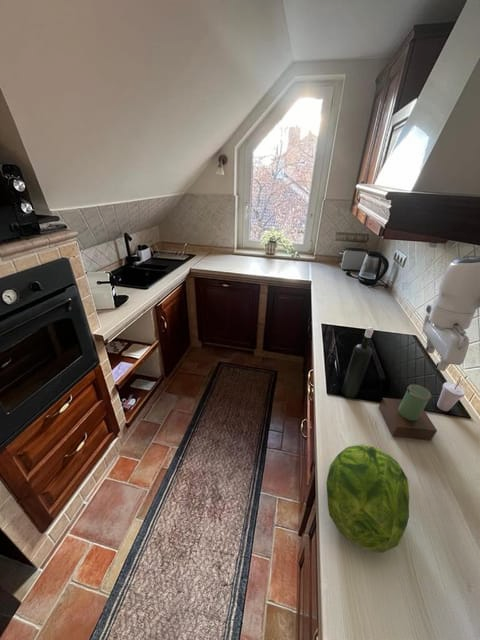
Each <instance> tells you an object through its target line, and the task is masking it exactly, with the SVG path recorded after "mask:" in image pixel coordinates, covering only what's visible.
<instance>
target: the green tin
mask: <svg viewBox="0 0 480 640" xmlns="http://www.w3.org/2000/svg"><path fill="white" fill-rule="evenodd" d="M431 398H432V394H431V392H430V391H429V390H428V389H427V388H426V387H423V386H422V385H419V384H410V385H408V386H407V389H406V391H405V393H404V395H403V398H402V402H401V404H400V406H399V408H398V411H399V413H400V414H401V415H402V416H403V417H404V418H406V419H408V420H413V421H415V420H417V419H418V418H419V416H420V415H421V413H422V411H423V410H425V408H426V406H427V404H428V402H429V401H430V399H431Z"/></svg>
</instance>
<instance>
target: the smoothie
mask: <svg viewBox="0 0 480 640" xmlns="http://www.w3.org/2000/svg"><path fill="white" fill-rule="evenodd" d="M461 382H462V379H460V378H459V379H458V381H457V382H456V383H454V382H452V381H445V382H443V384H442V386H441V388H442V389H441V392H440V395H439V397H438V399H437V403H436V407H437V408H438V409H439V410H440V411H443V412H449V411H450V410H451V409H452V408H453V407H454V406H455V405H456V404H457V402H458V401H459V400H461V398H463V397H464V396H465V395H466V393H467V392H466V390H465V388H464V387H462V386H461V385H460V384H461Z"/></svg>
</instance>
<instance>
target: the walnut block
mask: <svg viewBox="0 0 480 640" xmlns="http://www.w3.org/2000/svg"><path fill="white" fill-rule="evenodd" d="M402 400H403V398H402V399H401V398H389V397H382V398H381V401H380V403H379V405H378V409H379V411H380V414H381V417H383V420H384V422H385V424H386V427H387V428H388V431H389V433H390V435H391V437H394V438H402V439H412V440H423V441H432V439H433V438H434V437H435V435H436V433H437V432H438V429H437V428H436V426H435V425H434V423H433V422H432V420H431V419H430V417H429V416H428V414H427V412H426V411H425V409H423V411H422V413H421V415H420V416H419V418H418V419H417V420H415V421H413V420H408V419H406V418H404V417H403V416H402V415H401V414H400V413H399V411H398V408H399V406H400V404H401V402H402Z"/></svg>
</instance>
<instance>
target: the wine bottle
mask: <svg viewBox="0 0 480 640" xmlns="http://www.w3.org/2000/svg"><path fill="white" fill-rule="evenodd" d="M374 330H375V328H374V327H373V326H368V325H367V326H366V329H365V332H364V336H363V339H362V343H359V344H357V345H355V346H354V347H353V350H352V354H351V358H350V361H349V363H348V367H347V371H346V373H345V377H344V380H343V383H342V386H341V390H340V391H341V394H342V395H343V396H344V397H345V398H347V399H355V398H357V396H358V394H359V391H360V388H361V386H362V383H363V380H364V377H365V375H366V371H367V369H368V366H369V363H370V360H371V356H372V355H373V349H372V348H371V347H370V346H369V344H370V342H371V338H372V337H373V333H374Z"/></svg>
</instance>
